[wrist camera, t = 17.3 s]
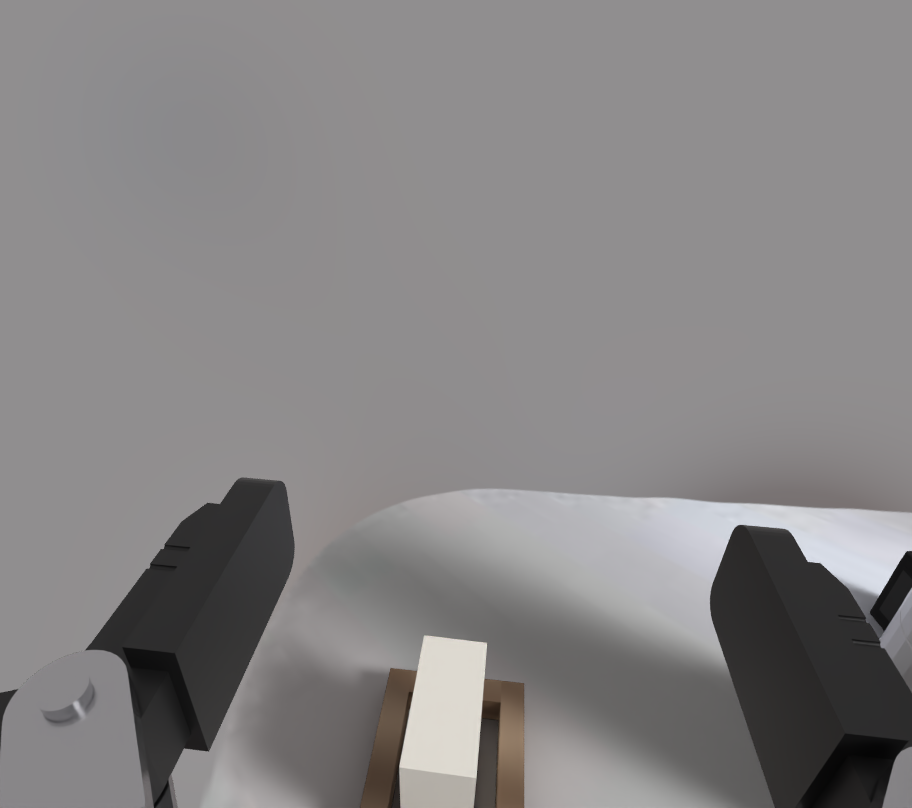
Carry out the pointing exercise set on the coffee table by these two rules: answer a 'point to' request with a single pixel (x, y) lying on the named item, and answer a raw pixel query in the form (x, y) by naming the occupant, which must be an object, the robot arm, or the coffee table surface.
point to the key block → (444, 726)
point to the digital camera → (894, 592)
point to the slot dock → (497, 704)
